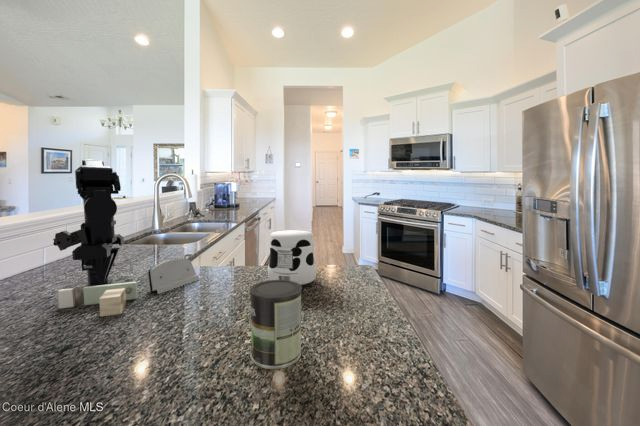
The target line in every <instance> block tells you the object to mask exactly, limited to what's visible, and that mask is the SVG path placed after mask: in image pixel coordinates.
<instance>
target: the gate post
mask: <svg viewBox="0 0 640 426" xmlns="http://www.w3.org/2000/svg"><path fill="white" fill-rule="evenodd" d="M73 288H74V297H75V306H74V307H82V306H83V305H84V293H83V286H82V285H75V286H74V287H73Z"/></svg>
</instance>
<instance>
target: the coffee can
mask: <svg viewBox="0 0 640 426" xmlns="http://www.w3.org/2000/svg"><path fill="white" fill-rule="evenodd" d="M302 290H303V286H301V285H300V284H298V283H296V282H293V281H289V280H269V279H268V280H265V281H264V280H263V281H260V282H257V283H256V284H254V285H252V286H251V287H250V288H249V294H250V331H251V332H250V335H251V336H250V338H251V339H250V340H251V342H250V343H251V344H250V345H251V346H250V347H251V353H250V359H251V361H252V362H253V364H255V366H258V367H259V368H263V369H265V370H280V369H284V368H287V367H291V366H293V365H294V364H296V363H297V362H298V361H299V360H300V359H301V356H302Z"/></svg>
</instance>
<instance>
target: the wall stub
mask: <svg viewBox="0 0 640 426" xmlns="http://www.w3.org/2000/svg"><path fill="white" fill-rule="evenodd" d="M57 297H58V308H59V310H60V309H66V308H74V307H76V306H75V297H74V287H71V288H62V289H59V290H58V291H57Z"/></svg>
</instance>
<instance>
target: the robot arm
mask: <svg viewBox="0 0 640 426" xmlns="http://www.w3.org/2000/svg"><path fill="white" fill-rule="evenodd" d="M117 173H118V172H116V170H115V171H114V169H113V167H112V166H105V164H104V160H101V159H86V158H85V159H81V165H79V167H78V168H77V169H75V171H74V174H75V175H74V176H75V189H77V195H79V196H80V198H81V199H82V200H83V201H82V202H83V213H84V222H82V223H81V224H80V229H78V230H74V231H71V232H69V231H68V230H62V231H60V232H57V233H55V234H54V235H55V236H54V238H52V240H53V246H55V247H56V246H57V247H58V249H59V251H64V250H65V251H66V250H67V248H70V247H73V246H76V245H79V244H80V245H79V246H76V248H75V249H73V250H72V251H71V254H72V260H73V261H80V262H81V271H82V272H84V271H86V273H87V274H86V276H87V277H86V278H87V284H86V285H85V286H84V287H89V286H98V285H108V284H111V283H112V279H109V275H110V273H111V271H112V268H113V267H114V266H115V261H116V259H117V257H118V255H119V253H120V252H119V251H120V250H121V247H114V245H119V246H123V245H124V244H125V242H124V240H125V239H124V236H122V235H121V234H119V233H118V234H117V233H116V234H115V232H116V231H115V225H117V220H116V219H115V218H114V216H115V215H116V213H117V211H118V205H117V204H116V201H115V200H114V199H113V198H112V194H113V195H116V194H117V195H119V192H120V191H122V189H121V187H122V186H121V182H120V177H119V176H120V175H118V174H117Z"/></svg>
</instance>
